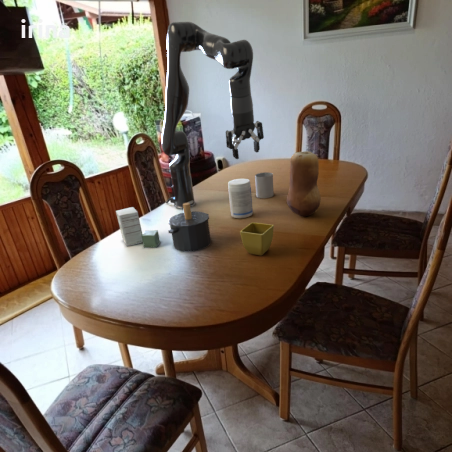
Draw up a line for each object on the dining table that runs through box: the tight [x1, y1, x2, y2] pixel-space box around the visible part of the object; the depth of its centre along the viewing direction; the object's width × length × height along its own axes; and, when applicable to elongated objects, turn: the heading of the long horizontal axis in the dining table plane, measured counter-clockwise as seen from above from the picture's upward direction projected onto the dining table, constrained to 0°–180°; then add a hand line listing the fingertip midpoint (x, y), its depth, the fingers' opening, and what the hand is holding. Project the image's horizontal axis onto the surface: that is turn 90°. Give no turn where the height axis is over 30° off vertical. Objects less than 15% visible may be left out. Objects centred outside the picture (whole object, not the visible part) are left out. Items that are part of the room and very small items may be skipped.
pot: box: [167, 213, 212, 253], centre depth 150 cm, size 14×19×10 cm
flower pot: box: [239, 221, 275, 256], centre depth 138 cm, size 9×9×9 cm
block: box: [142, 229, 161, 249], centre depth 154 cm, size 5×5×5 cm
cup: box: [254, 171, 275, 199], centre depth 192 cm, size 8×8×10 cm
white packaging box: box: [115, 206, 143, 247], centre depth 157 cm, size 7×7×13 cm
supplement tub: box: [227, 178, 254, 219], centre depth 170 cm, size 10×10×15 cm
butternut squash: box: [286, 150, 322, 218], centre depth 161 cm, size 14×13×25 cm
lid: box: [167, 203, 210, 228], centre depth 146 cm, size 15×15×7 cm
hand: (246, 155), depth 149 cm, fingers open, 8 cm apart
